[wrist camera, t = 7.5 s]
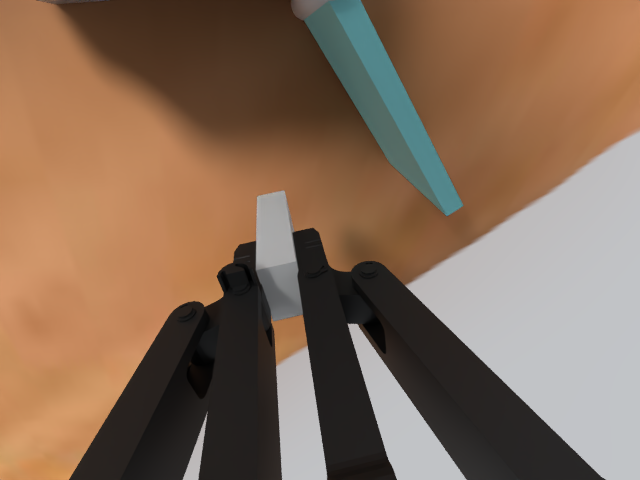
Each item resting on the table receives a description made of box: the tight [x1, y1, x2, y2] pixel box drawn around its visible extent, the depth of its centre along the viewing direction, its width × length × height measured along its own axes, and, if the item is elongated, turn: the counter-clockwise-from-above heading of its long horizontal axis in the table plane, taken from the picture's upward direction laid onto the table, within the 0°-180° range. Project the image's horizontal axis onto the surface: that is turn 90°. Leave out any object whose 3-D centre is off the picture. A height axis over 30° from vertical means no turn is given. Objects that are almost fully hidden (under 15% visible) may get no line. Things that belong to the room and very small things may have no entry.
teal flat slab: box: [291, 0, 463, 216], centre depth 18 cm, size 2×13×10 cm, turn 35°
